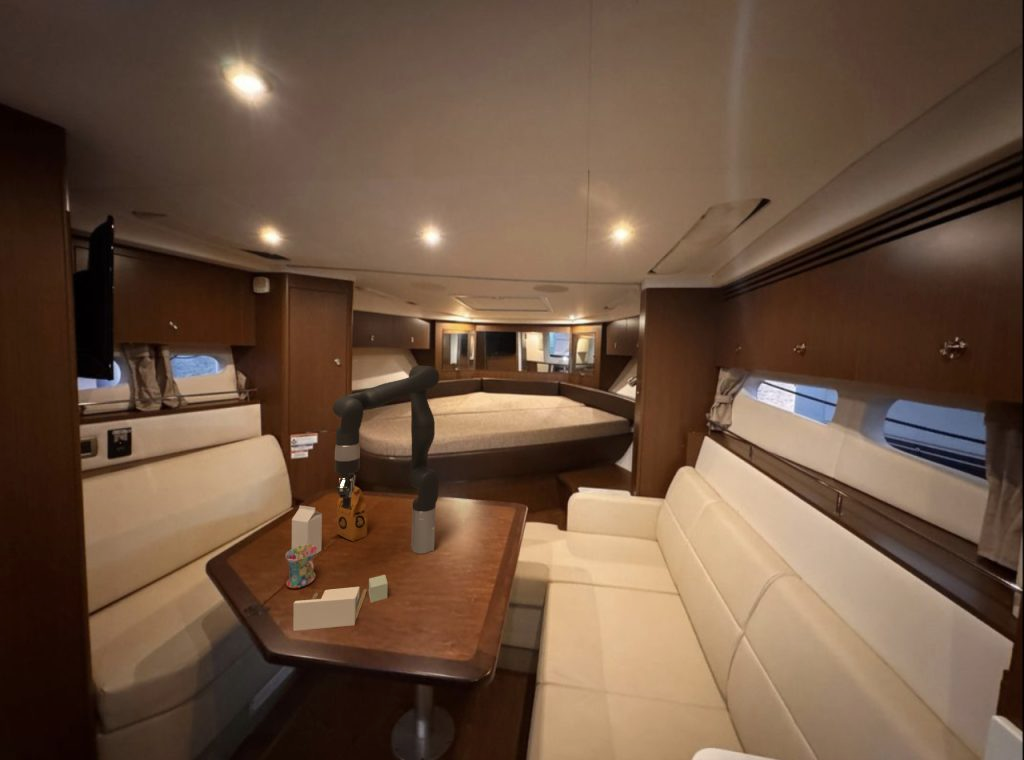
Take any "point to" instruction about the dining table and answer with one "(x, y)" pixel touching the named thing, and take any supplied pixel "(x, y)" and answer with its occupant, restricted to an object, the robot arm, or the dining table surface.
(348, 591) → the carton
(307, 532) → the milk carton
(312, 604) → the backdrop
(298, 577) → the mug
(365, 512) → the coffee package
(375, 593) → the green box
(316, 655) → the dining table surface
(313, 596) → the frame
